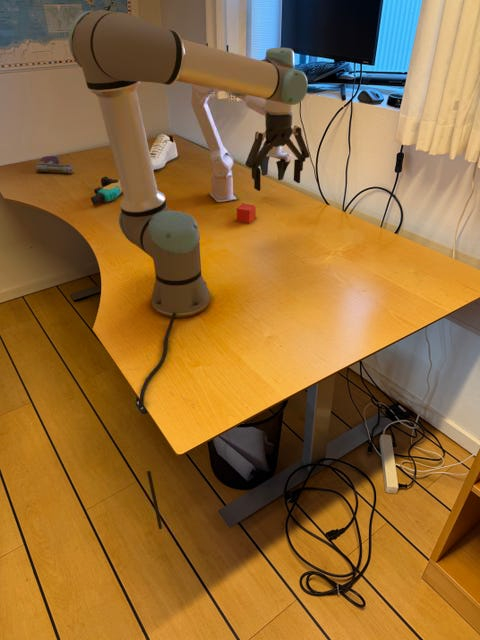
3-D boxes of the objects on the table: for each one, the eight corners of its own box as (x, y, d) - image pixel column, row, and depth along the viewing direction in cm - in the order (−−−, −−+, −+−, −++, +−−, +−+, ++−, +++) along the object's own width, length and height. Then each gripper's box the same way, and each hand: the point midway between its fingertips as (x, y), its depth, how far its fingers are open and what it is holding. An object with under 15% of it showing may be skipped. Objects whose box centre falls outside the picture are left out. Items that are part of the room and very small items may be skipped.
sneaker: (133, 173, 208) (129, 144, 201) (161, 153, 230) (158, 127, 223) (155, 175, 205) (151, 146, 198) (180, 155, 227) (178, 129, 220)
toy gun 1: (85, 164, 218) (69, 176, 206) (48, 162, 221) (31, 173, 209) (84, 156, 216) (67, 167, 204) (46, 154, 219) (28, 164, 207)
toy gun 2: (68, 191, 178) (99, 198, 173) (113, 171, 197) (142, 177, 191) (70, 203, 181) (101, 210, 175) (115, 182, 199) (143, 188, 194)
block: (249, 223, 165) (249, 210, 162) (236, 221, 167) (236, 208, 164) (255, 218, 168) (255, 205, 166) (242, 215, 170) (242, 203, 167)
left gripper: (310, 103, 139) (306, 174, 152) (232, 114, 131) (235, 188, 144) (324, 108, 134) (318, 182, 146) (244, 120, 126) (245, 197, 139)
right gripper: (250, 137, 169) (250, 175, 177) (282, 145, 161) (281, 184, 169) (263, 133, 173) (263, 170, 181) (295, 141, 165) (293, 179, 173)
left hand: (277, 185), depth 145 cm, fingers open, 13 cm apart
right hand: (272, 177), depth 175 cm, fingers open, 7 cm apart
